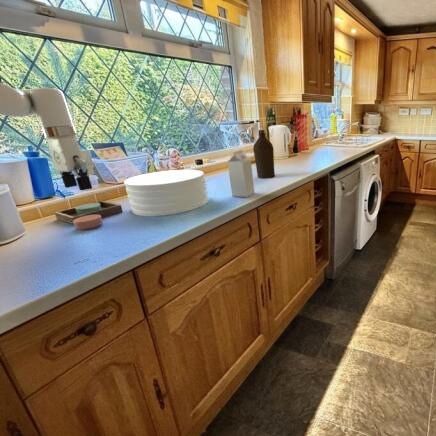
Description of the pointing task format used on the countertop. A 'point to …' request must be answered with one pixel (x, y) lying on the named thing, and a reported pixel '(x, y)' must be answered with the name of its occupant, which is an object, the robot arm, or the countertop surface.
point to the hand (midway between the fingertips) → (78, 187)
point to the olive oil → (264, 156)
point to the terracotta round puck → (87, 222)
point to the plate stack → (166, 192)
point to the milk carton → (241, 175)
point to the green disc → (88, 208)
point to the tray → (106, 211)
